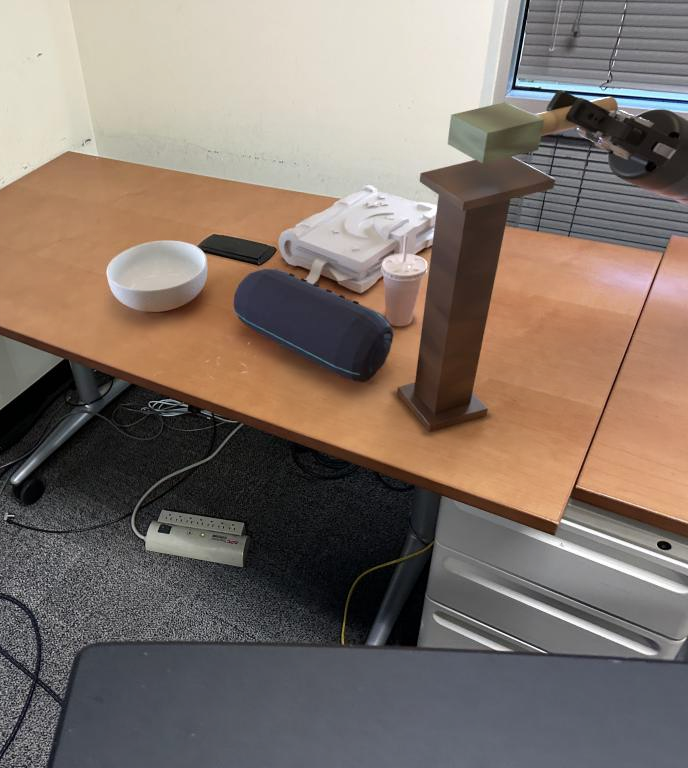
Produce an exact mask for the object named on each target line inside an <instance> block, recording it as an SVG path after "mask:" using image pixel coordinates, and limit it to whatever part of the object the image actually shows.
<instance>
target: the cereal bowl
mask: <svg viewBox="0 0 688 768" xmlns="http://www.w3.org/2000/svg"><path fill="white" fill-rule="evenodd" d="M207 258H208V257H207V256H206V253H205V252H204V251H203V250H202V249H201V248H200V247H199V246H197V245H194V244H192V243H190V242H189V243H188V242H186V241H181V240H180V241H179V240H166V239H165V240H155V241H148V242H145V243H144V242H143V243H140V244H137V245H134V246H132V247H129V248H127V249H125V250H123V251H121V252H120V253H119V254H117V255H116V256H114V257H113V258H112V259H111V260H110V262H109V263H108V265H107V267H106V278H107V283H108V286H109V288H110V290H111V293H112V294H113V296H114V297H115V298H116V299H117V300H118V301H119V302H120V303H121V304H123V305H124V306H126V307H128V308H130V309H133V310H135V311H136V310H137V311H141V312H150V313H151V312H152V313H162V312H167V311H170V310H173V309H177V308H179V307H182V306H184V305H186V304H188V303H190V302H191V301H193V300H194V299H195V298H196V297H197V296H198V295H199V294H200V293H201V292H202V290H203V288H204V287H205V284H206V282H207V277H208V259H207Z"/></svg>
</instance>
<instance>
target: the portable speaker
mask: <svg viewBox="0 0 688 768" xmlns="http://www.w3.org/2000/svg"><path fill="white" fill-rule="evenodd" d="M232 305H233V309H234V312H235V314H236V316H237V318H238V319H239V321H240V322H241V323H243V325H245V326H246V327H248V328H249V329H250V330H252V331H253V332H255V333H257V334H259V335H260V336H262V337H264V338H266V339H268V340H270V341H272V342H274V343H275V344H278V345H279V346H281V347H283V348H285V349H287V350H289V351H291V352H293V353H295V354H297V355H299V356H301V357H302V358H304V359H306V360H308V361H310V362H312V363H314V364H316V365H318V366H319V367H321V368H323V369H326V370H327V371H329V372H331V373H333V374H334V375H337V376H339V377H340V378H342V379H343V378H344V379H346V380H349V381H353V382H354V383H355V382H356V383H366V382H369V381H370V380H371V379H373V378H374V377H375V375H376V374H377V373H378V372H379V371H380V369H381V368H382V367H383V366H385V364H386V361H387V359H388V357H389V354H390V352H391V348H392V344H393V341H394V329H393V327H392V325H391V324H389V322H388V321H387V319H386V316H384V315H382V314H381V313H380V312H379V311H377V310H374V309H372V308H369V307H368V306H365V305H362V304H360V302H359V301H358V300H357V301H356V300H351V299H348V298H346V296H345V295H343V294H337V293H334V292H333V290H331V289H329V288H326V289H325V288H322V287H321V286H320V285H319V284H318V283H315V284H314V285H313V284H311V283H309V282H307V280H306V278H299V277H297V276H296V275H295V274H294V273H292V272H290V273H288V272H287V271H283V270H280V269H278V268H275V269H273V268H271V269H270V268H264V269H258V270H254V271H252V272H250V273H248V274H247V275H246V276H245V277H243V278H242V280H241V281H240V282H239V284H238V285H237V288H236V290H235V292H234V295H233V303H232Z"/></svg>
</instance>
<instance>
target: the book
mask: <svg viewBox="0 0 688 768" xmlns="http://www.w3.org/2000/svg"><path fill="white" fill-rule="evenodd" d="M436 212H437V204H433V203H429V202H426V201H425V202H424V201H421V202H419V201H414V200H412V199H409V198H404V197H400V196H398V195H393V194H391V193H387V192H383V191H379V189H377V188H376V187H375V186H373V185H370V184H365V185H362V186H360V187H359V188H357V189H356V191H355V192H352V193H349V194H347V195H345V196H344V197H341V198H340V199H338V200H336V201H334V202H333V204H332V206H330V207H328V208H325V210H322V211H321V212H317V213H314V214H312V215H310V216H309V217H307V218H305V219H303V220H301V221H300V222H298V223H296V225H295V226H294V227H291V228H290V227H289V228H288V229H285V230H283V231H282V232H281V233H280V235H279V238H278V249H279V251H280V254H281V257H282V258H283V259H284V261H285V262H286V263H287V264H288V265H291V266H294V267H297V266H298V267H302V268H304V269H307V270H309V274H308V275H307V276H306V278H305V279H306V280H307V282H309V283H311V284H313V285H314V284H317V282H318V281H319V279H320V277H321V276H323V277H325V278H328V279H331V280H333V281H335V282H337V284H338V285H340V286H342V287H345V288H346V289H349V290H350V291H352V292H356V293H359V294H362V293H364V292H365V291H367V290H369V289H370V288H371V287H372V286H373V285H375V284H377V283H378V280H379V279H380V278H382V277H384V275H383V274H382V272H381V267H382V262H383V260H384V259H385V258H387V257H389V256H391V255H395V254H402V253H403V245H404V235H405V234H408V235H409V236H408V246H407V254H414V255H416V254H417V253H419V252H421V251H422V250H423V249H425V248H426V249H427V248H429V247H432V244H433V236H434V228H435V220H436Z"/></svg>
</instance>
